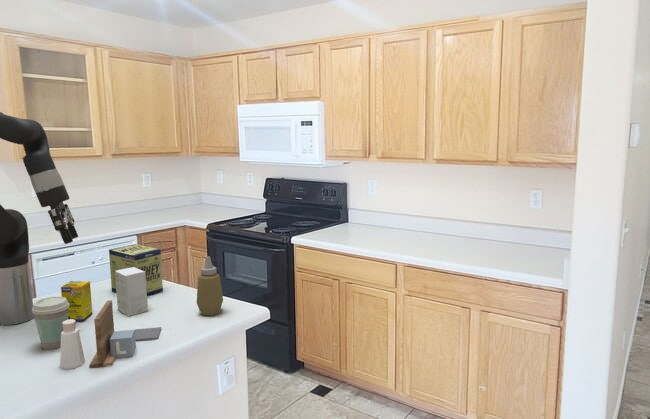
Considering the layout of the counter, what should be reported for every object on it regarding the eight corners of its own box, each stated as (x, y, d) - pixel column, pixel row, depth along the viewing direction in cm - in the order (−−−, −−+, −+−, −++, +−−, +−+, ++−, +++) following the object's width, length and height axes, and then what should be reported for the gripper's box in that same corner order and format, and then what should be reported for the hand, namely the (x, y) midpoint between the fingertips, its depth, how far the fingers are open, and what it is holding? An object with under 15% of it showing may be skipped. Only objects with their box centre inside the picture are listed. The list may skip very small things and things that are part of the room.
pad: (130, 341, 126) (130, 339, 126) (135, 331, 133) (135, 329, 133) (158, 339, 127) (158, 337, 127) (161, 329, 134) (161, 327, 134)
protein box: (138, 300, 158) (135, 255, 155) (110, 291, 166) (107, 249, 164) (164, 291, 166) (161, 249, 164) (136, 284, 175) (134, 243, 172)
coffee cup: (48, 337, 129) (44, 295, 127) (79, 337, 129) (75, 295, 127) (28, 351, 120) (23, 307, 118) (60, 352, 120) (56, 307, 118)
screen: (89, 367, 112) (85, 320, 110) (102, 344, 124) (99, 301, 122) (112, 365, 113) (108, 318, 111) (122, 342, 125) (119, 299, 124)
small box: (148, 311, 148) (145, 271, 146) (128, 316, 143) (125, 275, 141) (136, 304, 153) (134, 266, 151) (117, 310, 149) (114, 270, 147)
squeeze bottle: (204, 319, 141) (202, 261, 138) (192, 312, 147) (189, 256, 144) (228, 312, 146) (226, 256, 143) (215, 305, 152) (213, 252, 149)
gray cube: (111, 358, 116) (109, 339, 116) (115, 349, 121) (114, 331, 121) (132, 356, 117) (131, 337, 117) (136, 347, 122) (134, 329, 122)
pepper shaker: (54, 367, 112) (50, 323, 111) (74, 357, 117) (70, 315, 116) (71, 371, 110) (67, 326, 109) (90, 361, 115) (86, 318, 114)
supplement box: (63, 322, 139) (60, 286, 137) (73, 314, 145) (70, 280, 143) (83, 322, 139) (80, 286, 138) (93, 314, 145) (90, 280, 143)
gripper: (41, 190, 139) (63, 241, 142) (28, 193, 126) (52, 249, 129) (68, 182, 141) (89, 232, 144) (58, 184, 128) (81, 239, 131)
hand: (71, 240), depth 136 cm, fingers open, 8 cm apart
